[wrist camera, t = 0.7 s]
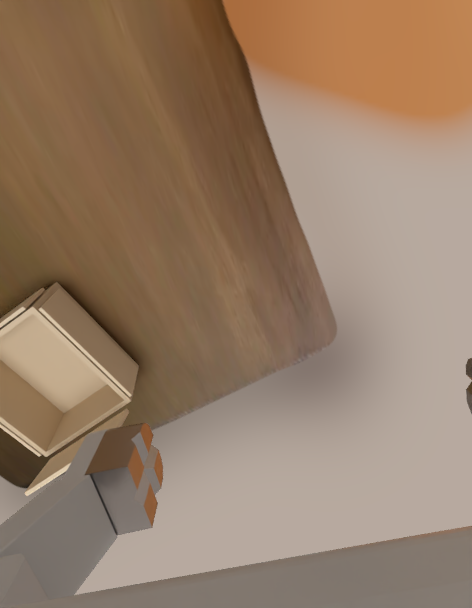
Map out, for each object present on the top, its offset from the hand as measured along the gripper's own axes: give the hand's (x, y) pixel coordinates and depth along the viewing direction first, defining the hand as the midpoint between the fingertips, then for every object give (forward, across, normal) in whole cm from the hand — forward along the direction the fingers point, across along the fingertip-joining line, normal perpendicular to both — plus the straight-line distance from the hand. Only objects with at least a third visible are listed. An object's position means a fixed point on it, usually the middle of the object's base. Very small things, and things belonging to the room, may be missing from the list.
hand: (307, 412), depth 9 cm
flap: (+28, +25, +20) cm, 42 cm away
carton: (+38, +28, +12) cm, 49 cm away
